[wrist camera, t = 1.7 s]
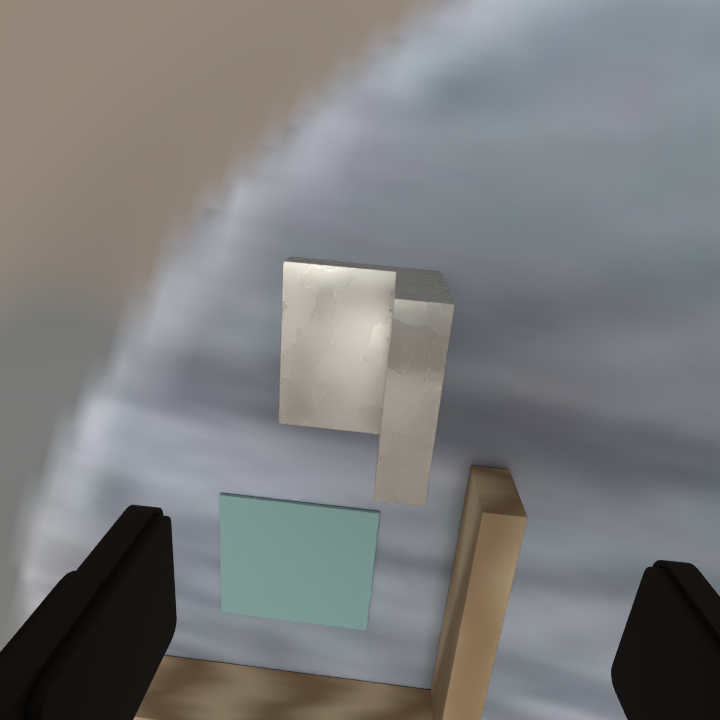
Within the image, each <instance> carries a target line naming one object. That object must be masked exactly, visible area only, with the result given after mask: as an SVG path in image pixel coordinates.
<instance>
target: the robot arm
mask: <svg viewBox="0 0 720 720" xmlns="http://www.w3.org/2000/svg"><path fill="white" fill-rule="evenodd" d="M176 620H177V616H176V599H175V581H174V563H173V545H172V528H171V519H170V517H169V516H163V511H162V509H161V508H158V507H149V506H139V505H131V506H129V507H128V508H127V509H126V510H125V511H124V512H123V514H122V515H121V516H120V517H119V519H118V520H117V521H116V522H115V523H114V525H113V526H112V527H111V528H110V530H109V531H108V532H107V533H106V535H105V536H104V537H103V538H102V539H101V541H100V542H99V543H98V544H97V546H96V547H95V548H94V549H93V551H92V552H91V553H90V554H89V556H88V557H87V558H86V559H85V560H84V562H83V563H82V564H81V565H80V567H79V568H78V569H77V570H76V571H72V572H70V573H68V574H66V575H65V576H64V577H63V578H62V579H61V580H60V581H59V582H58V583H57V585H56V586H55V587H54V588H53V589H52V591H51V592H50V593H49V594H48V595H47V597H46V598H45V599H44V600H43V601H42V603H41V604H40V605H39V606H38V607H37V609H36V610H35V611H34V612H33V613H32V615H31V616H30V617H29V618H28V620H27V621H26V622H25V623H24V624H23V626H22V627H21V628H20V629H19V630H18V632H17V633H16V634H15V635H14V636H13V638H12V639H11V640H10V641H9V642H8V644H7V645H6V646H5V647H4V648H3V650H2V651H1V652H0V720H134V717H135V715H136V713H137V711H138V709H139V707H140V705H141V703H142V701H143V699H144V697H145V694H146V692H147V690H148V688H149V686H150V684H151V682H152V680H153V678H154V676H155V674H156V672H157V669H158V667H159V665H160V663H161V661H162V659H163V657H164V655H165V653H166V651H167V649H168V646H169V644H170V642H171V640H172V638H173V635H174V632H175V627H176ZM611 678H612V684H613V687H614V690H615V692H616V694H617V697H618V699H619V701H620V704H621V706H622V708H623V710H624V713H625V715H626V717H627V719H628V720H720V596H719V595H718V594H717V593H716V591H715V590H714V589H713V588H712V586H711V585H710V584H709V583H708V581H707V580H706V579H705V577H704V576H703V575H702V574H701V572H700V571H699V570H698V569H697V568H696V567H695V566H694V565H693V564H690V563H684V562H675V561H665V560H658V561H656V562H655V563H654V564H653V566H652V567H648V568H646V569H645V571H644V574H643V576H642V579H641V582H640V585H639V588H638V591H637V594H636V597H635V600H634V603H633V606H632V609H631V612H630V615H629V618H628V620H627V623H626V626H625V629H624V632H623V635H622V638H621V641H620V644H619V647H618V650H617V653H616V656H615V659H614V661H613V664H612V669H611Z"/></svg>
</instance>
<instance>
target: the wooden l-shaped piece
mask: <svg viewBox="0 0 720 720" xmlns="http://www.w3.org/2000/svg"><path fill="white" fill-rule="evenodd" d="M526 521H527V515H526V512H525V510H524V507H523V505H522V502H521V499H520V497H519V494H518V492H517V489H516V486H515V484H514V481H513V478H512V476H511V473H510V471H509V470H506V469H497V468H488V467H479V466H471V468H470V474H469V480H468V485H467V491H466V497H465V502H464V508H463V513H462V519H461V525H460V530H459V536H458V541H457V547H456V553H455V558H454V564H453V569H452V575H451V581H450V586H449V592H448V598H447V603H446V609H445V614H444V620H443V626H442V631H441V637H440V642H439V648H438V654H437V659H436V665H435V670H434V676H433V682H432V687H431V690H426V689H418V688H410V687H403V686H395V685H387V684H380V683H372V682H364V681H357V680H349V679H341V678H334V677H326V676H318V675H311V674H303V673H295V672H288V671H280V670H273V669H265V668H257V667H250V666H242V665H234V664H227V663H219V662H211V661H204V660H196V659H188V658H181V657H173V656H165V655H164V657H163V659H162V661H161V663H160V665H159V667H158V669H157V672H156V674H155V676H154V678H153V680H152V682H151V684H150V686H149V688H148V690H147V692H146V694H145V697H144V699H143V701H142V703H141V705H140V707H139V709H138V711H137V713H136V715H135V717H134V720H481V716H482V712H483V707H484V703H485V699H486V694H487V690H488V686H489V681H490V677H491V673H492V668H493V664H494V660H495V656H496V651H497V647H498V643H499V638H500V634H501V630H502V625H503V621H504V617H505V612H506V608H507V604H508V599H509V595H510V591H511V586H512V582H513V578H514V573H515V569H516V565H517V560H518V556H519V552H520V547H521V543H522V539H523V534H524V530H525V526H526Z"/></svg>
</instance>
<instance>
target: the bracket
mask: <svg viewBox="0 0 720 720" xmlns="http://www.w3.org/2000/svg"><path fill="white" fill-rule="evenodd" d="M454 305H455V304H454V302H453V300H452V298H451V296H450V293H449V291H448V289H447V287H446V285H445V282H444V280H443V278H442V276H441V274H440V271H434V270H424V269H413V268H402V267H391V266H381V265H370V264H359V263H348V262H338V261H327V260H316V259H305V258H295V257H290V258H288V259H287V260H285V261H284V266H283V300H282V334H281V369H280V403H279V423H281V424H290V425H299V426H308V427H318V428H327V429H336V430H345V431H355V432H364V433H373V434H379V441H378V453H377V465H376V476H375V488H374V501H383V502H392V503H401V504H410V505H418V506H425V502H426V495H427V488H428V482H429V475H430V468H431V461H432V454H433V448H434V441H435V434H436V427H437V421H438V414H439V407H440V400H441V393H442V387H443V380H444V373H445V366H446V359H447V353H448V346H449V339H450V332H451V325H452V319H453V312H454Z"/></svg>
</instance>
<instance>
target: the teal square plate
mask: <svg viewBox="0 0 720 720" xmlns="http://www.w3.org/2000/svg"><path fill="white" fill-rule="evenodd" d="M219 499H220V561H221V612H224V613H231V614H239V615H247V616H255V617H263V618H271V619H279V620H287V621H295V622H303V623H311V624H319V625H327V626H335V627H343V628H351V629H359V630H366V631H367V623H368V614H369V605H370V596H371V587H372V578H373V569H374V560H375V551H376V542H377V533H378V524H379V515H380V511H372V510H363V509H354V508H346V507H337V506H328V505H320V504H311V503H302V502H294V501H285V500H276V499H268V498H259V497H250V496H242V495H233V494H224V493H220V495H219Z"/></svg>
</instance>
